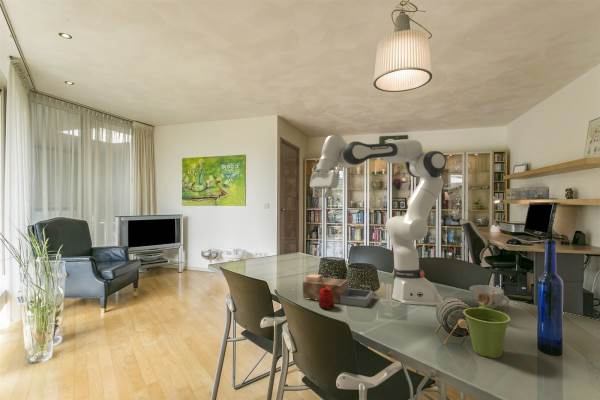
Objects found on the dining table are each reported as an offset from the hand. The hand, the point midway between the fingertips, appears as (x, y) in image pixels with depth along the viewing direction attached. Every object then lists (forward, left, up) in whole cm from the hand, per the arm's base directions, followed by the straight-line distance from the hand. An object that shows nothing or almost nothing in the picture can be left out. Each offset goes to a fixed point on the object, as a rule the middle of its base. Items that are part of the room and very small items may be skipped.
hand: (319, 197), depth 135 cm
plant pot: (-61, +22, -49) cm, 81 cm away
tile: (+9, -11, -41) cm, 43 cm away
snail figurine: (-64, -6, -49) cm, 81 cm away
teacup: (-67, -22, -49) cm, 86 cm away
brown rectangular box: (+3, -11, -49) cm, 50 cm away
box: (-13, -11, -49) cm, 52 cm away
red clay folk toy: (-3, +2, -49) cm, 49 cm away
